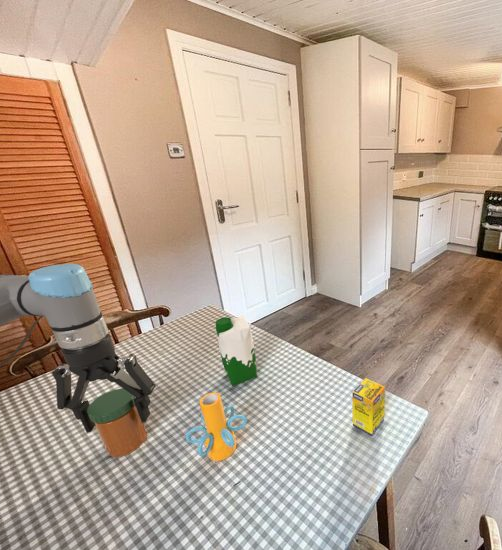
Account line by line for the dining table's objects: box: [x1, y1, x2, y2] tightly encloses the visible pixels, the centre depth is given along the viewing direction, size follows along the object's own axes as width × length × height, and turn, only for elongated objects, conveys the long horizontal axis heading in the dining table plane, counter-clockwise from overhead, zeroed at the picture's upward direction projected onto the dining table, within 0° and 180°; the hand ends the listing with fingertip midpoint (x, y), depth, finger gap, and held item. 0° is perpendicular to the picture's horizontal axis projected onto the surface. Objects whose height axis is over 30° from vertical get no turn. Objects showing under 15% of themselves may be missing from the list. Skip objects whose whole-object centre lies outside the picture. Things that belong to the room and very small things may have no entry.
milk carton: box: [214, 315, 258, 387], centre depth 89 cm, size 9×9×20 cm
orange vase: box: [185, 392, 248, 462], centre depth 67 cm, size 12×10×15 cm
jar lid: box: [87, 387, 136, 423], centre depth 67 cm, size 8×8×2 cm
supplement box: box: [351, 378, 386, 437], centre depth 74 cm, size 6×6×11 cm
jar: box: [93, 405, 148, 458], centre depth 69 cm, size 8×8×12 cm
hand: (119, 422), depth 69 cm, fingers open, 10 cm apart
